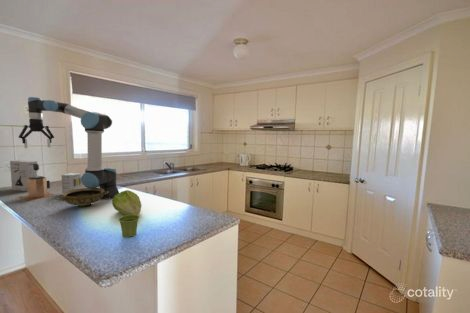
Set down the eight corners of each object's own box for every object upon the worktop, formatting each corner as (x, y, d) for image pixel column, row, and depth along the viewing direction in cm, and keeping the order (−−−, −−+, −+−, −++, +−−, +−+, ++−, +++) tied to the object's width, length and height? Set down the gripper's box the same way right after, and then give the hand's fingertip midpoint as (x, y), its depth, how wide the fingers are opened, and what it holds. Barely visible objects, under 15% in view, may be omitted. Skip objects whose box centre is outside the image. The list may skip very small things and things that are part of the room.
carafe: (52, 195, 173) (51, 176, 172) (31, 199, 163) (30, 178, 161) (47, 193, 178) (46, 175, 177) (26, 196, 168) (25, 177, 166)
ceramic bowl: (60, 215, 135) (59, 199, 134) (54, 206, 151) (53, 191, 151) (114, 205, 156) (114, 191, 155) (104, 198, 173) (103, 185, 172)
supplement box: (73, 196, 176) (72, 175, 175) (61, 195, 177) (60, 174, 175) (81, 193, 186) (81, 173, 184) (71, 192, 186) (70, 172, 185)
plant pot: (142, 230, 116) (142, 214, 115) (135, 239, 106) (134, 221, 105) (124, 230, 115) (123, 214, 115) (115, 239, 106) (114, 221, 105)
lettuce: (119, 212, 124) (143, 195, 132) (105, 197, 140) (127, 183, 148) (131, 229, 131) (153, 212, 139) (117, 213, 147) (137, 199, 155)
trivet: (57, 197, 173) (57, 195, 173) (27, 202, 157) (26, 201, 157) (47, 193, 182) (47, 192, 182) (17, 198, 166) (17, 197, 166)
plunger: (45, 194, 171) (43, 163, 168) (33, 196, 164) (31, 164, 162) (41, 192, 174) (39, 162, 172) (29, 194, 168) (27, 163, 166)
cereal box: (11, 189, 193) (9, 160, 191) (22, 187, 200) (20, 159, 198) (29, 191, 187) (27, 162, 184) (39, 189, 194) (37, 161, 192)
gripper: (54, 120, 178) (55, 146, 179) (11, 117, 156) (13, 148, 158) (58, 120, 174) (59, 147, 176) (15, 117, 152) (17, 148, 154)
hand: (37, 147), depth 167 cm, fingers open, 13 cm apart
